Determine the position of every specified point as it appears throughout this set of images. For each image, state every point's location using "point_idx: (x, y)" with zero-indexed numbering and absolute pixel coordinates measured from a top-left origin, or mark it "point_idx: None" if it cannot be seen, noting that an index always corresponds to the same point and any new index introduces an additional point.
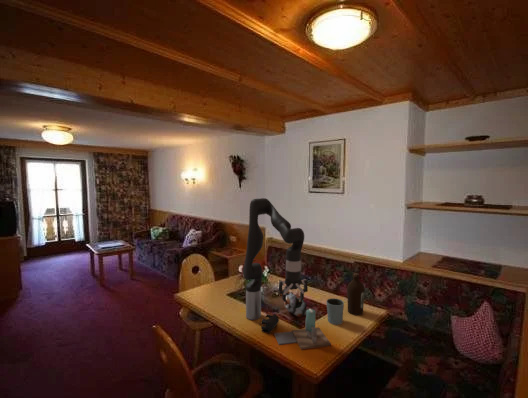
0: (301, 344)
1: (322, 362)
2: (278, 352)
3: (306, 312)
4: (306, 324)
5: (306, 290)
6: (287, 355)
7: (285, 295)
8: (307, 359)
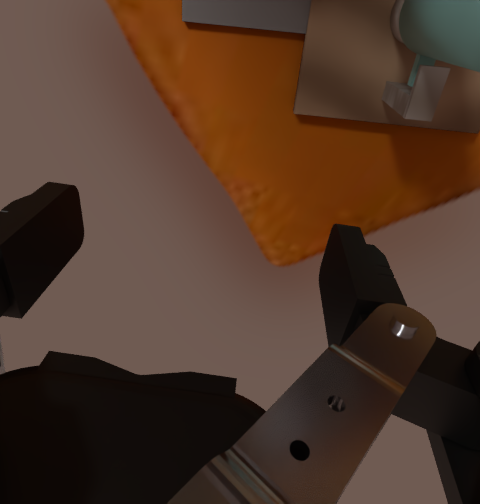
0: (309, 88)
1: None
2: (166, 97)
3: (461, 8)
4: (414, 12)
5: (453, 448)
6: (204, 136)
7: (19, 310)
8: (285, 191)
